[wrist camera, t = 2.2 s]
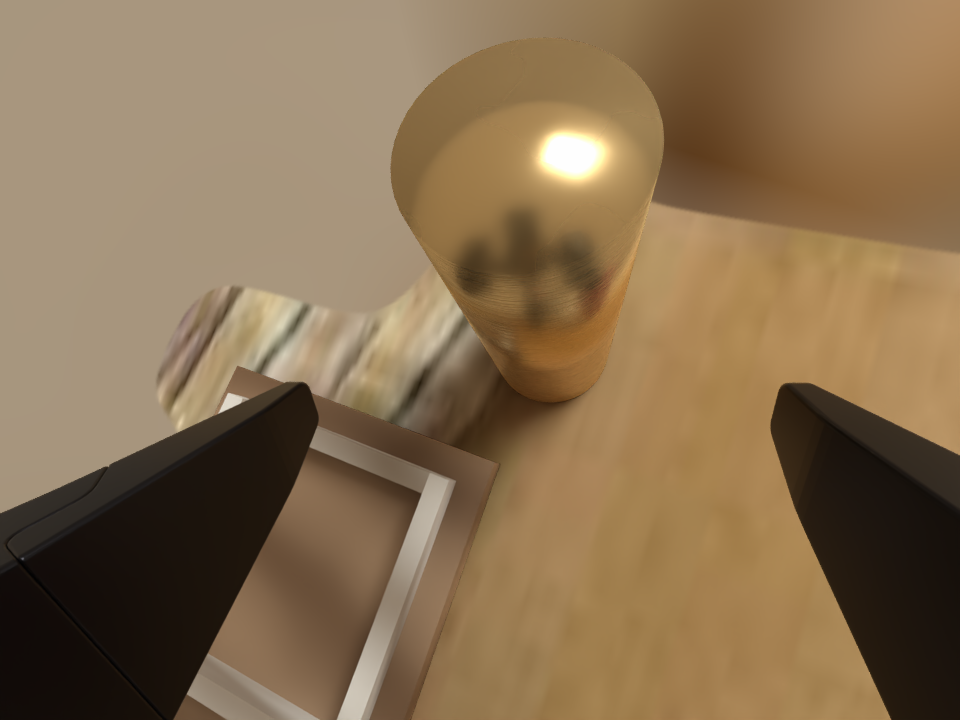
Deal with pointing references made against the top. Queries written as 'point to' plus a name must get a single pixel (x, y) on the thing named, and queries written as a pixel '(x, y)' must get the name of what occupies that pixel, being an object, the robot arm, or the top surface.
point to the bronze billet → (533, 201)
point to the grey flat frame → (346, 575)
